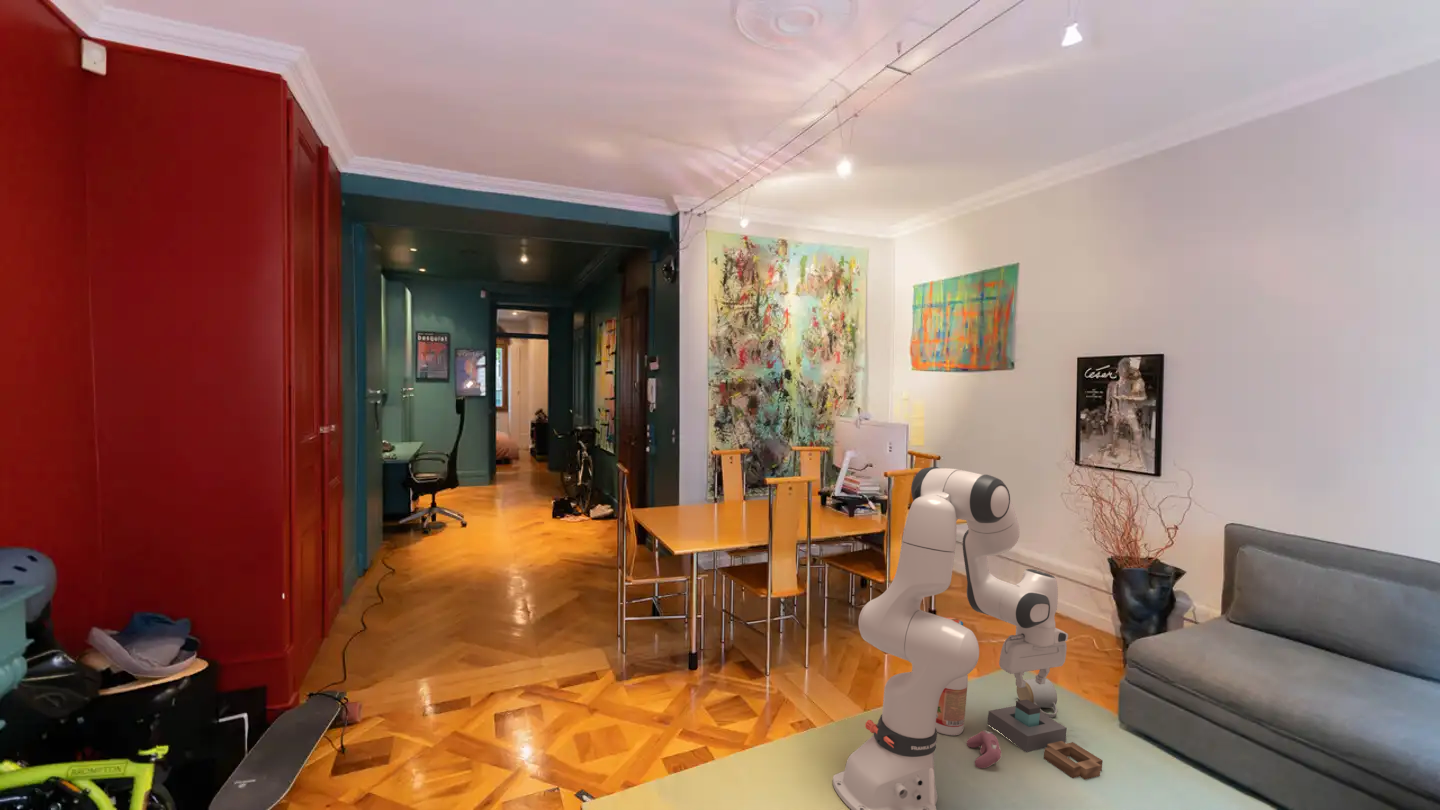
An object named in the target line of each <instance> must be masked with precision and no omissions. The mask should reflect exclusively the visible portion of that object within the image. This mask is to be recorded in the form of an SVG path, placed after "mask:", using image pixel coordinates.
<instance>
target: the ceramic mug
mask: <svg viewBox="0 0 1440 810" xmlns="http://www.w3.org/2000/svg"><path fill="white" fill-rule="evenodd" d="M1035 679H1036V678H1030V679H1029V678H1027V679H1024V680H1025V681H1026V684H1025V685H1026V686H1025V687H1024V688H1019V687H1017V686H1016V695H1017V698H1018V701H1021V700H1026V699H1027V700H1029V701H1031V702H1032V703H1034V704H1036V705H1038V706H1039V707H1040V712H1041V713H1043V714H1044V715H1046V716H1048V717H1050V718H1051V719H1053V718H1055V717H1056V715H1057V713H1058V707H1057V704H1058V703H1057V702H1058V695H1057V690H1056V688H1055V686H1054V685H1053V683H1052V681H1050V679H1049V678H1047V677H1046V678H1045V684H1041V685H1040V684H1038V683H1036V681H1035ZM1041 708H1043V709H1046V708H1047V709H1051V708H1052V709H1053V713H1047V712H1045V711H1043V710H1042V709H1041Z"/></svg>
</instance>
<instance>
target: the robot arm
mask: <svg viewBox="0 0 1440 810" xmlns="http://www.w3.org/2000/svg"><path fill="white" fill-rule="evenodd" d="M910 492H911V498H912V503H911V505H910V508H909V511H908V513H907V516H906V520H905V523H904V524H905V525H904V528H903V533H902V541H901V544H900V545H901V546H900V552H899V553H900V554H899V558H898V563H897V566H896V567H897V568H896V570H895V571H896V572H895V575H894V577H893V579H892V581H891V583H890V585H889V586H888V588H886V590H885V591H884V592H883V593H882V594H880V595H879V596H877V597H875V598H873V599H871V600H869V601H868V602H867V603H866V604H865V605H864V606H863V607H862V609H861V611H860V613H859V615H858V622H857V623H858V630H859V633H860V636H861V638H862V639H863V641H865V642H867V643H868V644H869V645H871V646H873V647H874V648H876V649H877V650H880V651H881V652H884V653H886V654H889V655H891V656H894V657H897V658H899V659H902V660H905V661H908V662H909V663H910V664H911V666H912V669H911V671H908V672H906V671H905V672H901V673H897V674H893V676H890V678H888V680H887V681H886V683H885V685H884V689H883V690H884V691H883V703H882V713H881V715H880V717H879V719H878V721H877V724H876V723H875V722H874V721H873V720H872V719H868V720H867V721H866V722H865V724H864V727H865V728H866V729H867V730H868V731H869V732H870V733H871V734H873V735H872V736H871V737H869V738H868V739H867V740H866V741H865V742H864V743H862V745H860V746H859V747H858V748H857V749H855V750H854V751H853V752H852V753H851V754H849V756H848V758H847V761H846V764H845V766H844V767H845V768H844V770H843V771H840V772H838V773H836V774H833V776H832V786H833V788H834V790H835V792H836V794H837V795H838V797H839V798H840V799H841V800H842V802H843V803H844V804H845V805H846V807H848V808H849V809H850V810H937V807H936V805H937V803H938V799H939V796H938V791H937V787H936V777H935V758H934V757H935V756H934V755H935V754H934V753H935V751H936V749H937V743H938V739H937V737H938V732H937V730H936V727H935V725H936V716H937V710H938V704H939V699H940V696H941V694H942V692H943V690H944V689H945V687H946V686H947V685H948V684H949V683H951V682H952V681H954V680H955V679H958V678H960V677H963V676H966V675H967V674H970V673H971V672H972V671H974V669H975V667H976V666H977V664H978V662H979V657H980V646H979V641H978V638H977V637H976V634H975V633H974V631H973V630H971V629H970V628H968V627H966V626H964V625H963V626H962V625H961V624H959V623H957V622H955V621H953V620H951V619H947V617H944V616H942V615H937V614H934V613H931V612H927V611H925V610H922V609H921V605H922V601H923V599H924V598H927V597H932V596H936V595H939V594H942V593H945V591H946V590H948V589H949V587H950V586H951V583H952V578H953V577H952V576H953V575H952V574H953V568H954V562H955V553H956V544H957V521H958V520H962V521H966V525H967V528H968V529H967V530H966V531H965V533H964V534H963V537H962V553H963V554H962V555H963V560H964V568H965V573H966V575H965V576H966V598H967V601H968V604H969V605H970V608H972V610H974V611H975V612H977V613H980V614H983V615H987V616H990V617H993V618H995V619H998V620H1000V621H1003V622H1005V623H1008V624H1011V625H1014V626H1015V634H1010V635H1009V636H1008V637H1007V638H1006V639H1005V640H1004V642H1003V644H1002V646H1001V650H1000V655H999V661H998V665H999V667H1000V669H1001V670H1002V671H1004V672H1006V673H1008V674H1010V675H1013V676H1014V678H1015V686H1016V688H1017V687H1019V688H1024V687H1025V686H1026V685H1025V684H1026V681H1025V680H1026V679H1024V678H1023V676H1024V675H1025V673H1027V672H1033V671H1038V673H1037V674H1036V675H1035V678H1034V679H1035V681H1036V683H1038V684H1040V685H1041V684H1045V678H1046V679H1047V677H1048V675H1049V673H1050V669H1053V668H1058V667H1062V666H1063V665H1064V664H1065V662H1066V657H1067V641H1068V640H1069V633H1067V632H1065V631H1064V630H1062V629H1059V628H1058V627H1056V621H1055V619H1056V618H1055V616H1056V615H1055V614H1056V613H1057V610H1058V604H1059V603H1058V601H1059V590H1058V588H1059V587H1058V581H1057V579H1056V577H1055V576H1053V575H1052V574H1050V573H1047V572H1044V571H1040V570H1037V569H1033V568H1032V569H1031V568H1027V569H1024V571H1023V573H1022V577H1021V581H1020V582H1017V583H1016V584H1014V583H1011V582H1008V581H1005V580H1002V579H999V578H997V577H996V576H994V575H993V574H992V573H991V572H990V569H989V563H988V562H989V561H988V557H989V556H991V557H992V556H993V557H994V556H999V555H1002V554H1005V553H1006V552H1009V551H1010V550H1012V548H1014V546H1015V545H1016V544H1017V543H1018V542H1019V538H1020V526H1019V521H1018V518H1017V516H1016V511H1015V508H1014V506H1013V503H1012V501H1011V495H1010V491H1009V489H1008V487H1007V485H1006V484H1005V482H1004V481H1003V480H1001V479H1000V478H998V477H996V476H992V475H991V474H981V473H979V472H978V473H977V472H974V471H973V472H972V471H968V470H965V469H961V468H949V467H947V468H945V467H938V466H929V467H925V468H924V467H923V468H921V469H920V470H919V471H918V472H917V473H916V474H915V476H914V477H913V479H912V482H911V491H910Z"/></svg>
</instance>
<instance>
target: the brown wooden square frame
mask: <svg viewBox="0 0 1440 810" xmlns="http://www.w3.org/2000/svg"><path fill="white" fill-rule="evenodd" d="M1043 749H1044V751H1043V760H1045V761H1046V762H1048V763H1049V764H1051V765H1053V767H1055V768H1057V769H1058V770H1060V771H1061V772H1062V773H1064V774H1066V775H1067V776H1068V777H1070V778H1072V779H1076V778H1081V779H1083V780H1085V781H1087V780H1090V779H1093V778H1096V777H1100V776H1101V772H1102V769H1103V759H1101V758H1100V757H1098V756H1097V755H1094V753H1091V752H1089V751H1088V750H1087V749H1085V748H1083V747H1081V746H1080V745H1078V744H1077V743H1075V742H1073V741H1072V742H1067V743H1064V742H1063V741H1059V742H1054V743H1050V744H1047V748H1043ZM1070 758H1071V759H1070ZM1074 760H1075V761H1076V762H1075V761H1074Z"/></svg>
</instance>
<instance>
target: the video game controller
mask: <svg viewBox="0 0 1440 810" xmlns="http://www.w3.org/2000/svg"><path fill="white" fill-rule="evenodd" d="M966 746H967V747H968V748H970V747H971V749H972V748H973V749H975V748H980V749H979V753H980V754H981V755H980V756H978V757H977V758H975V760H974V766H975V767H976V768H977V767H978V768H977V769H985V768H986V769H987V768H989V767H990V766H992V765H994V764H995V763H998V762H999V761H1000V760H1001V759H1002V750H1001V748H1000V743H999V739H998V738H997V736H996V735H995V734H993V733H992V732H991V731H987V730H986V729H985V730H981V731H980V732H978V733H977V734H975V735H971V736H970V737H969V738H968V739H967V740H966Z"/></svg>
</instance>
